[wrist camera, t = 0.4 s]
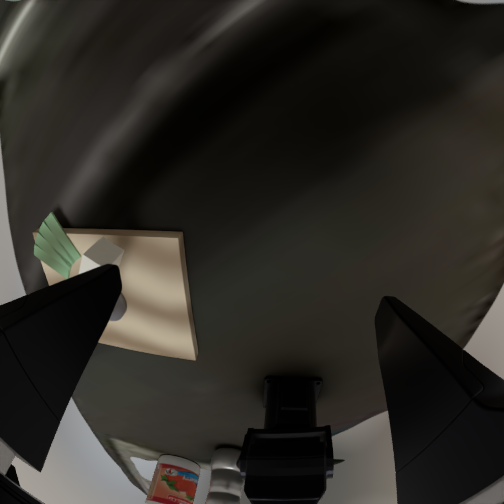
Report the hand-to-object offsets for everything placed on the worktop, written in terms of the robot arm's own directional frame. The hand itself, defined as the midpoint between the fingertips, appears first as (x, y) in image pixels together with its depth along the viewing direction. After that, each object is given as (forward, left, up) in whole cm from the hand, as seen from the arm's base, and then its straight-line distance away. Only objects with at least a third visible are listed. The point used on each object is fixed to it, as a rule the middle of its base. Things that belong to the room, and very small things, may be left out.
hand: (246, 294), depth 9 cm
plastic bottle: (-45, +4, -13) cm, 47 cm away
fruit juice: (-58, +16, -13) cm, 62 cm away
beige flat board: (-10, +16, -13) cm, 23 cm away
